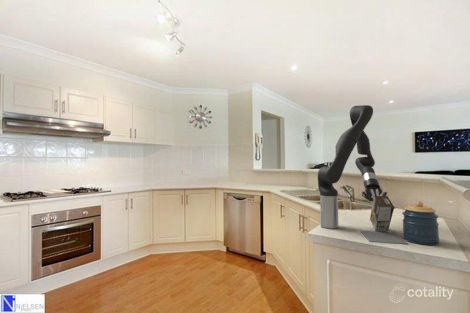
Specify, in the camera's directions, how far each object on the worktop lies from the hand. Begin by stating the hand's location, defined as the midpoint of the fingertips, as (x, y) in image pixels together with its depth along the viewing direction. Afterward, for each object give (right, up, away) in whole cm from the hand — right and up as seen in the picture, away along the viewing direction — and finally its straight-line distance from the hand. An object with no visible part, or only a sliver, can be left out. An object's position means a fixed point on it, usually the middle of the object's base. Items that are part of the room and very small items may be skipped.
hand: (378, 207), depth 126 cm
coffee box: (0, -10, 0) cm, 10 cm away
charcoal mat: (-6, -12, -13) cm, 18 cm away
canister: (+8, -12, -18) cm, 23 cm away
